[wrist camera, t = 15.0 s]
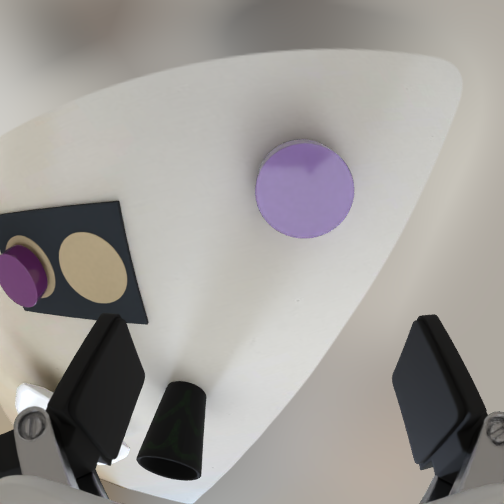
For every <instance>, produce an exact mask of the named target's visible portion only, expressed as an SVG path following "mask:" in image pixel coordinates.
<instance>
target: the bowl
mask: <svg viewBox="0 0 504 504" xmlns="http://www.w3.org/2000/svg"><path fill="white" fill-rule="evenodd" d="M53 393H54V392H51V391H49V390H47V389H46V388H44V387H41V386H37V385H33V384H28V383H22V384H21V385H20V386H19V387H17V392H16V404H15V407H16V409H17V411H18V414H19V413H20V412H21V411H22V410H24V409H26V408H28V407H32V406H37V407H41V408H43V409H44V410H46V408H47V404H48V402H49V400H50V399H51V397H52V395H53ZM129 450H130V447H129V446H128V445H127V444H126V443H125V442H124V441H123V442H122V445H121V448H120V451H119V454H118V457H117V458H116V459H115V460H112V463H115V462H117V461H119V460H121V459H123V458H125V457H126V456H128V453H129ZM112 463H111V464H112ZM97 464H99V465H106V464H103V463H99V462H98V463H97Z"/></svg>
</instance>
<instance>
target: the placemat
mask: <svg viewBox="0 0 504 504" xmlns="http://www.w3.org/2000/svg"><path fill="white" fill-rule="evenodd" d="M16 244H18V245H22V246H25V247H26V248H28V249H29V250H30V251H32V252H33V253H34V254H35V255H36V257H37V258H38V259H39V261H40V262H41V264H42V266H43V268H44V270H45V272H46V276H47V281H48V287H47V291H46V293H45V294H44V295H43V296H42V297H41V298H40V299H39V301H38V302H37V303H36V304H35V305H34V306H33V307H29V308H28V307H23V308H24V310H25V311H31V312H37V313H44V314H51V315H59V316H66V317H74V318H83V319H92V320H97V319H98V318H99V316H100V315H101V314H102V313H113V314H119V315H120V316H121V318H122V319H124V320H125V321H126V323H134V324H148V319H147V316H146V313H145V309H144V306H143V302H142V299H141V295H140V291H139V288H138V284H137V280H136V276H135V272H134V268H133V264H132V260H131V256H130V252H129V248H128V243H127V239H126V234H125V229H124V225H123V220H122V215H121V209H120V204H119V201H113V202H102V203H91V204H81V205H71V206H62V207H53V208H45V209H36V210H29V211H21V212H14V213H7V214H0V251H1V254H2V253H3V252H4V251H5V250H7V249H8V248H9V247H11V246H12V245H16Z"/></svg>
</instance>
